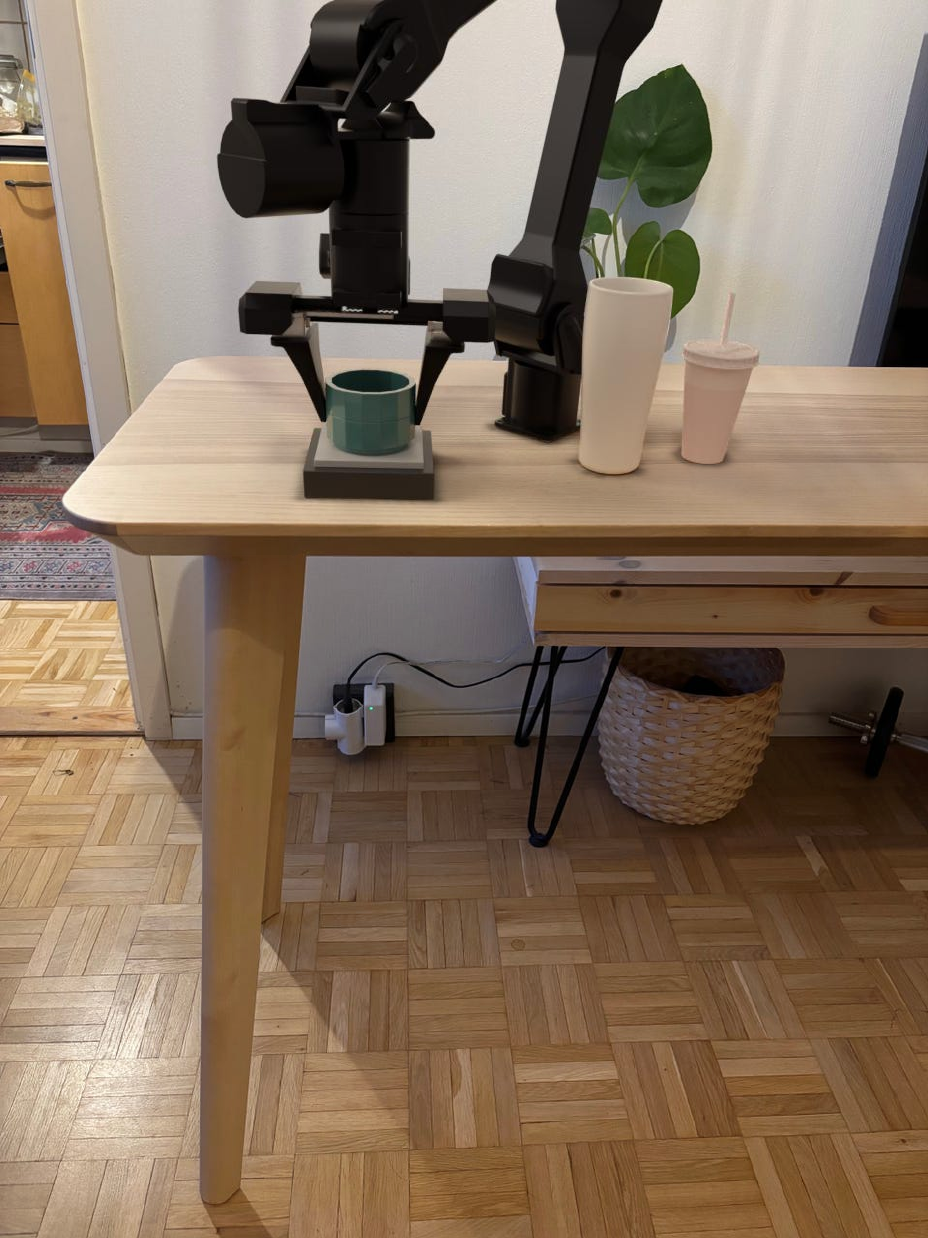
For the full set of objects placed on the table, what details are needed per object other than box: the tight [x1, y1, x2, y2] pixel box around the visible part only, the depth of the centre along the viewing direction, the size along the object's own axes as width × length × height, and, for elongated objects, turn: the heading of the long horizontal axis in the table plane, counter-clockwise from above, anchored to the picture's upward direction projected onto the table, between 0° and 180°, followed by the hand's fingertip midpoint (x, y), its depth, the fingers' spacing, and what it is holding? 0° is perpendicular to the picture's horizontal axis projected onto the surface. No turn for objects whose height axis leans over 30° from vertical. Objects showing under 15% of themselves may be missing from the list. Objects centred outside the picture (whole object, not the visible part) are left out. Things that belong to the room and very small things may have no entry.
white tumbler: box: [577, 276, 674, 475], centre depth 76 cm, size 7×7×15 cm
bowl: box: [324, 367, 417, 455], centre depth 73 cm, size 7×7×5 cm
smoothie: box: [680, 292, 761, 465], centre depth 79 cm, size 6×6×14 cm
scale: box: [302, 423, 435, 500], centre depth 75 cm, size 10×10×3 cm
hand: (371, 422), depth 74 cm, fingers closed on bowl, 7 cm apart
